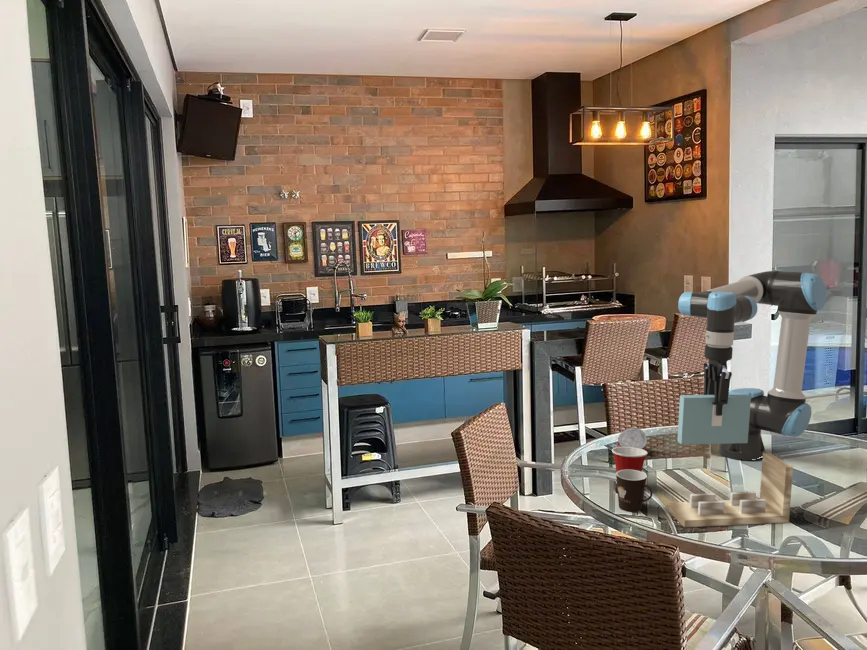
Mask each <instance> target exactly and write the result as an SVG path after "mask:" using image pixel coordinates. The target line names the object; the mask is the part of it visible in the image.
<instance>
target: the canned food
mask: <svg viewBox="0 0 867 650" xmlns="http://www.w3.org/2000/svg"><path fill="white" fill-rule="evenodd" d="M617 440H618V442H617V444H616V445H617V446H616V447H634V448H639V449H643V450H645V451H647V444H648V438H647V436H646V433H645V432H644V431H643V429H640V428H638V427H629V428H627V429H624V430H623V431H622V432H621V433H620V434H619V435H618V438H617Z"/></svg>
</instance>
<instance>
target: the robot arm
mask: <svg viewBox="0 0 867 650" xmlns="http://www.w3.org/2000/svg"><path fill="white" fill-rule="evenodd" d="M826 300H827V288H826V283H825V282H824V279H823V278H822V277H821V275H818V274H816V273H811V272H807V271H806V272H801V271H800V272H799V271H798V272H796V271H783V270H781V271H779V270H768V271H767V270H766V271H763V272H758V273H757V272H756V273H754V274H749V275H746V276H743V277H741V278H740V279H738V281H735V282H732V283H728V284H726V285H725V284H724V285H722V286H718V287H714V288H711V289H707V290H703V291H700V292H695V291H685V292H683V293H682V294H681V295H680V296H679V299H678V305H677V306H678V307H677V308H678V311H679V313H680V314H681V315H683V316H687V317H690V318H692V317H693V318H701V319H703V318H704V319H706V328H705V334H704V338H705V346H704V355H703V357H704V358H705V359H706V360H708V361H707V362H706V363H703V372H704V373H703V395H715V402H714V403H712V404H713V409H712V426H722V412H723V405H724V404H727V403H728V395H737V394H746V395H748V396H750V397H751V403H750V417H749V431H748V443H729V444H718V451H717V452H718V453H719V454H720V455H722V456H724V457H726V456H727V457H726V458H729V457H730V459H732V458H733V460H737V459H740V460H739V461H747V460H752V459H757V458H759V457H761V456H763V453H766V449H765V445H764V441H763V438H762V431H766V432H770V433H775V434H778V435H782V436H783V437H784V436H787V437H793V438H796V437H799V436H801V435H802V434H803V433H804V432H805V431H806V430H807V428H808V427H809V424H810V421H811V418H812V413H813V412H812V407H811V405H810V404H808V402H807V403H806V399H807V397H806V395H805V394H804V393H803V391H802V390H803V382H804V376H805V375H804V374H805V369H806V368H805V366H806V358H807V352H808V351H807V350H808V343H809V334H810V325H811V320H812V319H813V318H815V317H816V316H817V315H818V314H817V313H818V311H820V310H822V309H823V308H824V307H825V304H826ZM758 304H759V305H760V304H761V305H767V306H768V305H769V306H777V313H778V315H780V317H781V322H780V329H779V337H778V339H779V340H778V346H777V353H776V354H777V355H776V364H775V373H774V379H773V387H772V388H771V389H770V390H768V391H767V395H765V392H764V390H763V389H760V388H754V387H752V388H751V387H749V388H748V387H742V388H735V389H731V390H730V385H731V379H732V376H733V373H732V371H728V361H731V360H732V359H733V345H734V338H735V324H737V323H741V322H742V323H745V322H747V321H749V320H752V319H753V318H755V316H757V314H758V313H757V312H758ZM741 459H742V460H741Z"/></svg>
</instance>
